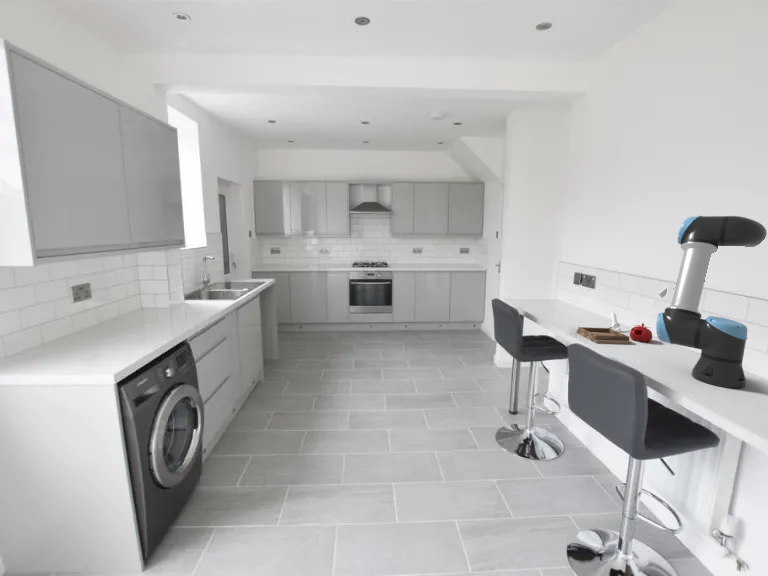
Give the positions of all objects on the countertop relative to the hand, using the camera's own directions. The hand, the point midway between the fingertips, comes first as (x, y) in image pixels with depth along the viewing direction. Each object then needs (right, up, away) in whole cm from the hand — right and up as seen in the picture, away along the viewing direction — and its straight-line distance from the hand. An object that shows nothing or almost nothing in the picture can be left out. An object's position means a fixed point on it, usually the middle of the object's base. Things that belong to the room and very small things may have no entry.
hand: (668, 297), depth 191 cm
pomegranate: (-12, -22, +4) cm, 26 cm away
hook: (-14, -20, +23) cm, 33 cm away
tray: (-30, -21, +6) cm, 37 cm away
